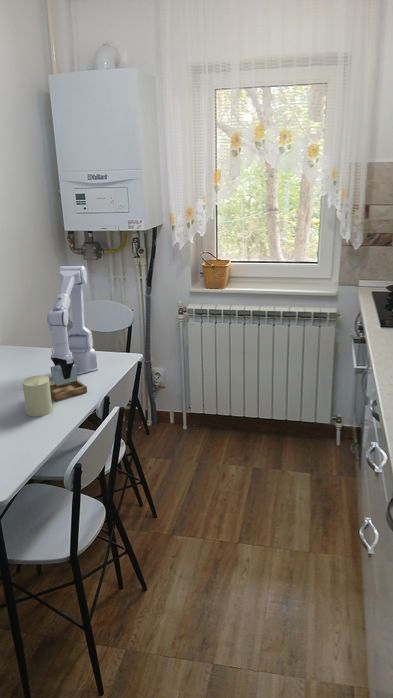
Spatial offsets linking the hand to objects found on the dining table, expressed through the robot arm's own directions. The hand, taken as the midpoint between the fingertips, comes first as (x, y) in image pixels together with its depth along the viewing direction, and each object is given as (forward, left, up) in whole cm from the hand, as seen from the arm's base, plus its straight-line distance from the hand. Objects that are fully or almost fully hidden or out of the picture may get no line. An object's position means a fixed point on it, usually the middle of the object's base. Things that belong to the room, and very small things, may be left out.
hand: (64, 376), depth 205 cm
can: (+14, +9, -7) cm, 18 cm away
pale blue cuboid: (0, 0, -2) cm, 2 cm away
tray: (0, 0, -7) cm, 7 cm away
